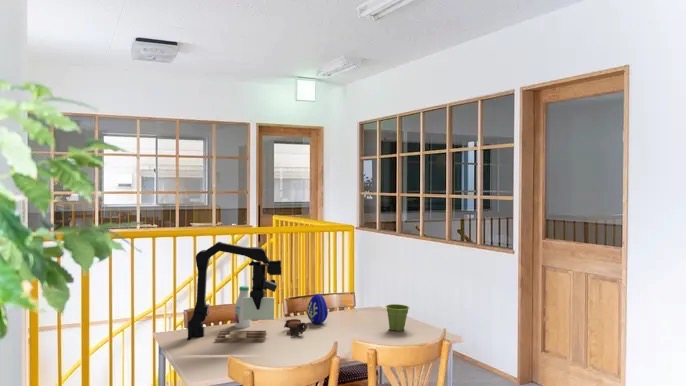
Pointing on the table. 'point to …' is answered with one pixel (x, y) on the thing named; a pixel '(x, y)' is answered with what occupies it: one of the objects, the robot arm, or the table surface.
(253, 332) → the walnut rack
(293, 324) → the pottery mug
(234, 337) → the lower pine offcut
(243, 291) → the milk bottle
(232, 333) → the upper pine offcut
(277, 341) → the table surface
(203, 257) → the robot arm
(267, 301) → the sage board
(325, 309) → the ornament
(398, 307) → the plant pot
